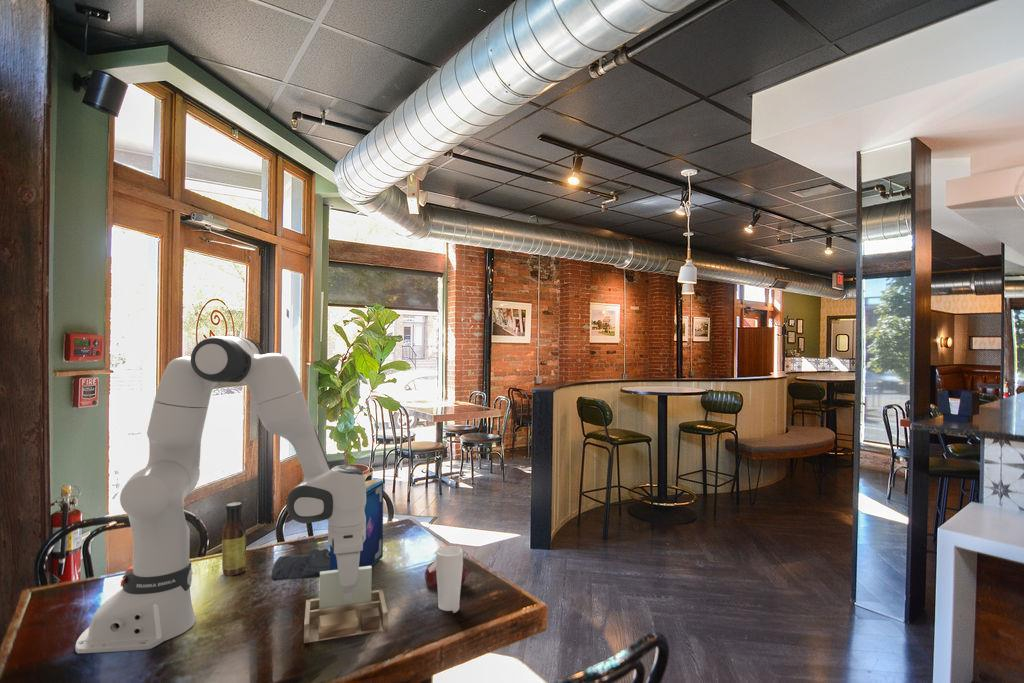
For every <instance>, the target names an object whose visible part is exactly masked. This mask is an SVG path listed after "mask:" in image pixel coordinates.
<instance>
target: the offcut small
mask: <svg viewBox="0 0 1024 683" xmlns="http://www.w3.org/2000/svg"><path fill="white" fill-rule="evenodd" d="M379 624H380V615H379V610H378V608H372V609H365V610H361V631H368V630H374V629H379Z"/></svg>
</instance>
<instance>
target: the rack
mask: <svg viewBox="0 0 1024 683" xmlns="http://www.w3.org/2000/svg"><path fill="white" fill-rule="evenodd" d="M372 608H378V610H379V615H380V624H379V629H374V630H368V631H361V610H365V609H372ZM351 610H356V614H357V618H358V626H357V627H356V634H350V635H343V636H337V637H331V638H324V639H318V632H319V619H320V616H322V615H328V614H334V613H339V612H345V611H351ZM388 618H389V617H388V608H387V604H386V599H385V595H384V590H383V589H377V590H371V602H367V603H360V604H353V605H345V606H338V607H331V608H324V609H319V597H318V598H311V599H310V598H309V599H306V600H305V610H304V622H303V623H304V624H303V644H305V643H306V644H308V643H314V642H319V641H320V642H321V641H325V640H332V639H339V638H345V637H352V636H357V635H364V634H370V633H375V632H376V633H377V632H383V631H388Z"/></svg>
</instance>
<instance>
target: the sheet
mask: <svg viewBox="0 0 1024 683" xmlns="http://www.w3.org/2000/svg"><path fill="white" fill-rule="evenodd" d="M372 568H373V567H371V566H364V567H359V571H358V579H357V584H356V586H354V587H352V598H351V600H346V601H345V600H344V599H343V588H341V587H340V584H339V576H338V570H330V571H321V572H320V577H319V592H318V594H319V596H318V598H319V609H324V608H331V607H338V606H345V605H353V604H360V603H367V602H371V591H372V578H373V576H372V575H373V574H372V573H373V572H372V571H373V569H372Z"/></svg>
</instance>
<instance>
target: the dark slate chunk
mask: <svg viewBox="0 0 1024 683" xmlns="http://www.w3.org/2000/svg"><path fill="white" fill-rule="evenodd" d="M321 571H330V549H328V548H324V549H318V548H317V549H312V550H311V551H310V552H309V554H302V555H301V554H300V555H285V556H284V555H282V556H279V557H278V558H277V559H276V561H275V562H274V564H273V568H272V569H271V578H272V580H273V581H283V580H298V579H300V580H301V579H308V578H311V579H312V578H320V572H321Z"/></svg>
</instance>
